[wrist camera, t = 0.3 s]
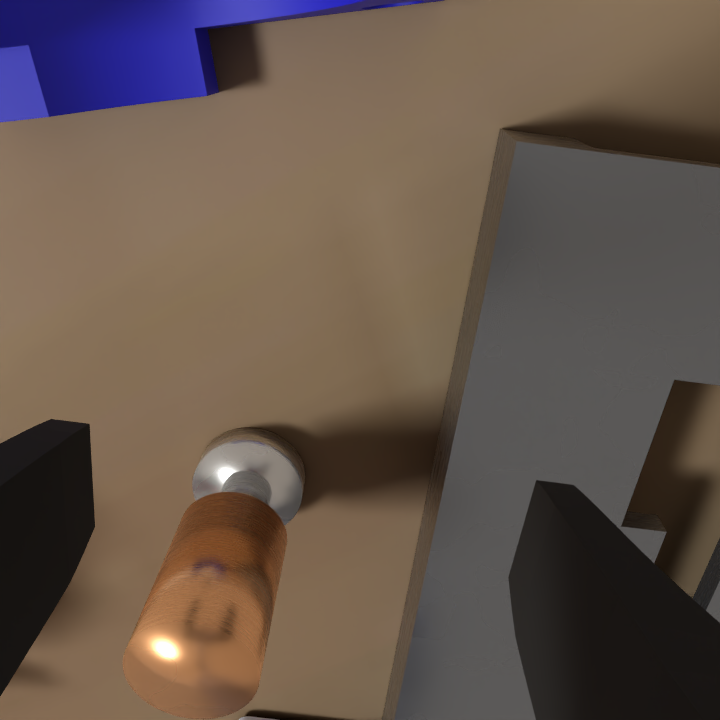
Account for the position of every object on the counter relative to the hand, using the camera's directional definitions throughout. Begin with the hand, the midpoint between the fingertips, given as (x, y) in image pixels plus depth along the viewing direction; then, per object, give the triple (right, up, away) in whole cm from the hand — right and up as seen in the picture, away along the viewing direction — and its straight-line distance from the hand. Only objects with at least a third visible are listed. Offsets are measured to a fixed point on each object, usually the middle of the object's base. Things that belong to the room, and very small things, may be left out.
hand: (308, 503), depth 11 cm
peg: (-3, -2, +12) cm, 12 cm away
